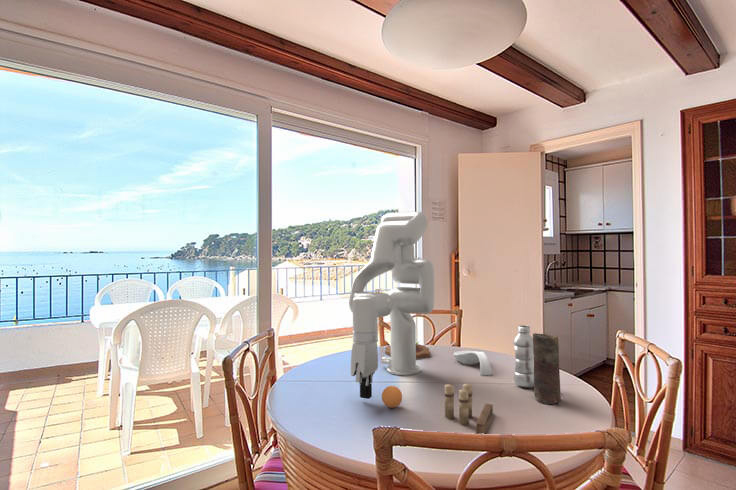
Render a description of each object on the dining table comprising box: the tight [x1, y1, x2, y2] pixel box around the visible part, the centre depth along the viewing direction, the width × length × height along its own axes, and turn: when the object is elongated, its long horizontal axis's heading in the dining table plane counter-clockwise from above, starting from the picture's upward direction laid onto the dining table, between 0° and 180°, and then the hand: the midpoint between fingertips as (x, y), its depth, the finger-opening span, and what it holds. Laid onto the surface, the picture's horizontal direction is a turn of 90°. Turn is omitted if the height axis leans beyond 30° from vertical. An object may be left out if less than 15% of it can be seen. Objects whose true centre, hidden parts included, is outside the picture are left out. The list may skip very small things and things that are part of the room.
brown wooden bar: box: [475, 403, 494, 434], centre depth 106 cm, size 2×14×2 cm, turn 155°
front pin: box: [444, 383, 455, 420], centre depth 110 cm, size 2×2×8 cm
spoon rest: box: [453, 350, 494, 377], centre depth 157 cm, size 24×12×7 cm, turn 8°
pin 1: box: [462, 383, 473, 419], centre depth 110 cm, size 2×2×8 cm
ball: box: [381, 385, 403, 409], centre depth 117 cm, size 6×6×6 cm
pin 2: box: [458, 389, 470, 426], centre depth 106 cm, size 2×2×8 cm
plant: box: [384, 341, 431, 360], centre depth 177 cm, size 20×20×11 cm
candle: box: [532, 332, 562, 405], centre depth 122 cm, size 8×7×20 cm
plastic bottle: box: [513, 325, 534, 388], centre depth 134 cm, size 6×7×20 cm
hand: (365, 397), depth 121 cm, fingers closed
